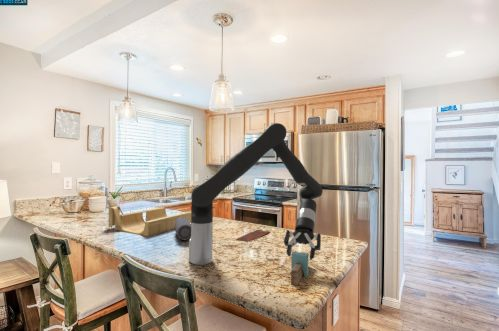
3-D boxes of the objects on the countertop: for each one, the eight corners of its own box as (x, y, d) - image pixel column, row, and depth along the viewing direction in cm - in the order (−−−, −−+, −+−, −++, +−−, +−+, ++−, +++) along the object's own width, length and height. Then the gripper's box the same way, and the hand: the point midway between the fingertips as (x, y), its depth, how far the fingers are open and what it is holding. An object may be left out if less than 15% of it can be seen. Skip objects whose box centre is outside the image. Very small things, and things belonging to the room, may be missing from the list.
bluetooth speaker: (194, 241, 144) (194, 223, 144) (176, 243, 141) (176, 224, 141) (189, 231, 166) (189, 215, 166) (173, 232, 163) (174, 216, 163)
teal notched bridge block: (291, 274, 102) (291, 253, 102) (292, 271, 105) (293, 251, 105) (307, 276, 100) (307, 255, 100) (308, 274, 102) (308, 253, 102)
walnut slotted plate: (291, 284, 94) (291, 270, 94) (302, 265, 112) (302, 253, 112) (297, 285, 93) (297, 271, 93) (307, 265, 111) (307, 253, 111)
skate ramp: (147, 238, 154) (148, 211, 153) (108, 229, 170) (109, 204, 169) (192, 225, 189) (193, 202, 189) (156, 218, 205) (157, 197, 205)
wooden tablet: (257, 231, 172) (257, 228, 172) (271, 233, 166) (271, 230, 166) (233, 240, 149) (233, 237, 149) (247, 243, 144) (247, 240, 144)
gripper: (287, 214, 112) (279, 249, 102) (322, 217, 107) (317, 254, 96) (290, 224, 117) (283, 259, 107) (323, 228, 112) (319, 264, 101)
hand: (299, 257), depth 102 cm, fingers open, 8 cm apart
